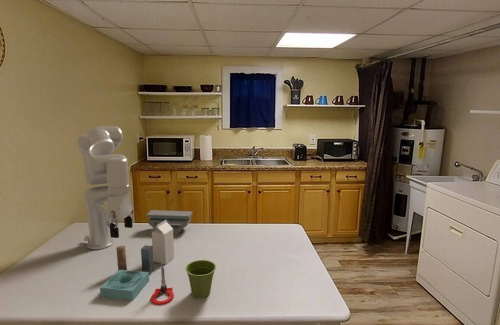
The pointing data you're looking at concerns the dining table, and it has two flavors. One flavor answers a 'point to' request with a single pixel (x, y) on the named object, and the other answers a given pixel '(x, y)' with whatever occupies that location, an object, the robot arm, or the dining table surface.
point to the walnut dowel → (121, 258)
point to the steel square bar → (147, 259)
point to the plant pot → (200, 277)
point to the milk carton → (163, 243)
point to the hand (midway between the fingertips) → (122, 232)
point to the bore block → (124, 285)
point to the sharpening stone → (170, 219)
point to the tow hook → (162, 290)
